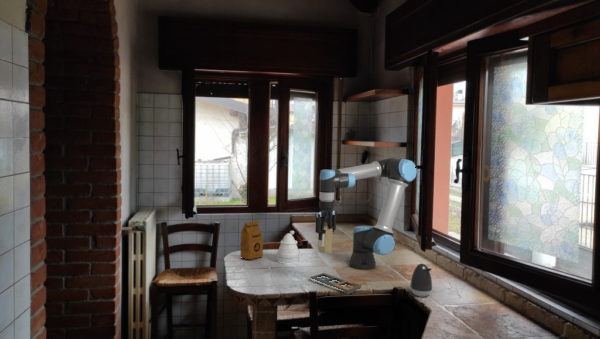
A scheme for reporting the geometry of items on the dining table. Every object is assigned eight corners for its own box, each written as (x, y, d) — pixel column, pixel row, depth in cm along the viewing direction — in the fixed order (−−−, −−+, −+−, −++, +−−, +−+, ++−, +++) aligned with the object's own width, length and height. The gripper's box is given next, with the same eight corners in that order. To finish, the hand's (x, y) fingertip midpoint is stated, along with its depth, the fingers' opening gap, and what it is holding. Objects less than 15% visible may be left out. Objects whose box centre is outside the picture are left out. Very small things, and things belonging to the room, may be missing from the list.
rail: (323, 276, 245) (324, 272, 244) (360, 289, 226) (360, 285, 226) (310, 280, 238) (310, 276, 238) (347, 294, 220) (347, 289, 219)
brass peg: (324, 249, 240) (325, 227, 239) (331, 251, 236) (332, 228, 235) (318, 251, 236) (318, 228, 235) (325, 253, 233) (325, 229, 232)
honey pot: (300, 258, 277) (300, 229, 275) (297, 265, 264) (298, 234, 263) (278, 257, 278) (279, 228, 277) (275, 263, 266) (276, 232, 264)
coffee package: (265, 258, 276) (265, 221, 274) (248, 261, 268) (249, 224, 266) (254, 254, 283) (255, 219, 281) (238, 258, 275) (238, 221, 273)
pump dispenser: (421, 300, 214) (423, 268, 213) (405, 293, 223) (406, 262, 222) (436, 296, 220) (438, 265, 219) (419, 289, 229) (421, 259, 227)
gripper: (333, 197, 243) (332, 241, 245) (308, 200, 231) (307, 246, 233) (344, 199, 237) (342, 244, 239) (319, 202, 225) (317, 249, 227)
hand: (325, 245), depth 236 cm, fingers closed on brass peg, 5 cm apart
